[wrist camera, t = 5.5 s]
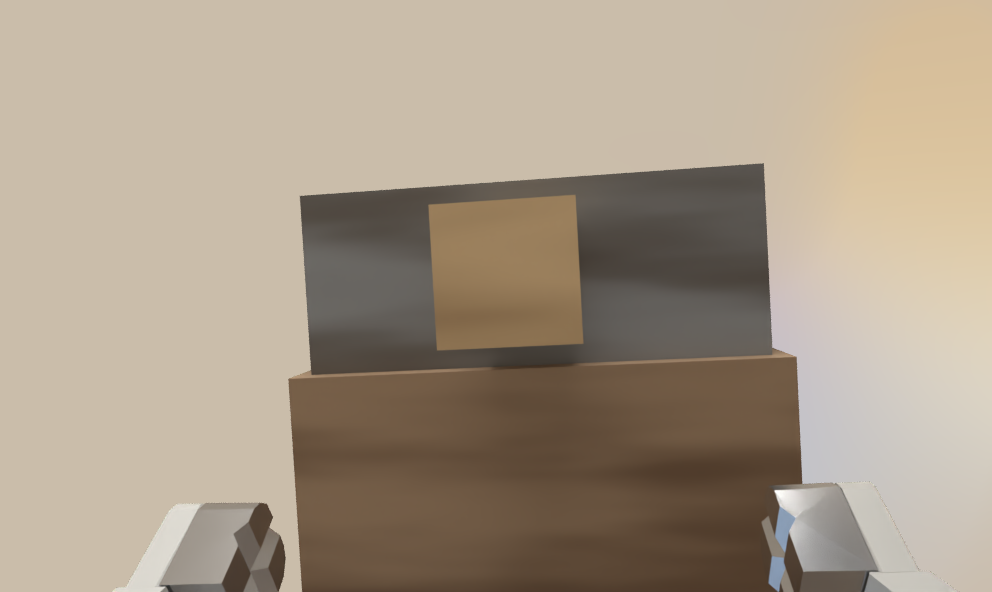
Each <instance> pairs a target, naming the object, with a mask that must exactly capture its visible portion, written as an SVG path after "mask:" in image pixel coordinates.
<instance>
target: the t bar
mask: <svg viewBox="0 0 992 592" xmlns="http://www.w3.org/2000/svg"><path fill="white" fill-rule="evenodd" d="M300 203H301V219H302V234H303V250H304V266H305V281H306V297H307V312H308V327H309V328H308V329H309V344H310V360H311V375H321V374H344V373H367V372H390V371H413V370H436V369H459V368H482V367H505V366H528V365H550V364H573V363H596V362H619V361H642V360H665V359H688V358H711V357H734V356H757V355H773V354H772V335H771V334H772V333H771V311H770V292H769V291H770V290H769V268H768V247H767V225H766V205H765V204H766V203H765V183H764V164H749V165H735V166H722V167H706V168H692V169H678V170H664V171H650V172H635V173H621V174H607V175H593V176H579V177H565V178H551V179H536V180H522V181H508V182H493V183H479V184H465V185H450V186H438V187H423V188H408V189H393V190H379V191H365V192H353V193H352V192H351V193H338V194H322V195H308V196H300Z"/></svg>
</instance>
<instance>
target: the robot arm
mask: <svg viewBox="0 0 992 592" xmlns="http://www.w3.org/2000/svg"><path fill="white" fill-rule="evenodd" d="M764 504H765V507H766V510H767V513H768V517H767V518H766V519H764V520H763V521H762V522H761V532H760V544H761V556H762V561H763V565H764V570H765V573H766V577H767V580H768V583H769V584H770V585H771V586H772V587H773V588H774V589H776V590H777V591H778V592H958V591H957V590H956V589H954V588H953V587H952V586H950V585H949V584H948V583H946V582H945V581H943V580H942V579H941V578H939V577H938V576H936V575H935V574H934V573H932V572H931V571H919V568H918V567H917V565H916V563H915V561H914V559H913V557H912V556H911V553H910V551H909V550H908V548H907V546H906V544H905V542H904V540H903V538H902V536H901V534H900V532H899V531H898V528H897V527H896V525H895V523H894V521H893V519H892V517H891V515H890V513H889V512H888V510H887V508H886V506H885V504H884V502H883V500H882V499H881V496H880V494H879V492H878V490H877V489H876V487H875V486H874V485H873V484H872V483H870V482H848V483H835V484H833V483H816V484H793V485H770V486H768V488H767V490H766V492H765V499H764ZM272 518H273V516H272V514H271V512H270V510H269V508H268V505H267V504H264V503H205V504H177V505H175V506H174V507H173V508H172V509H171V510H169V512H168V513H167V515H166V517H165V518H164V520H163V522H162V524H161V525H160V527H159V529H158V531H157V533H156V534H155V536H154V538H153V540H152V541H151V543H150V545H149V547H148V549H147V550H146V552H145V554H144V556H143V558H142V559H141V561H140V563H139V565H138V566H137V568H136V570H135V572H134V574H133V575H132V577H131V579H130V581H129V582H128V584H127V586H126V587H119V588H116V589H115V590H114V591H112V592H279V589H280V586H281V583H282V580H283V577H284V568H285V551H284V545H283V542H282V540H281V537H280V535H279V534H277V533H276V532H274V531H273V530H272V529H270V528H269V526H270V523H271V521H272Z"/></svg>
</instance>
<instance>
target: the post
mask: <svg viewBox="0 0 992 592" xmlns="http://www.w3.org/2000/svg"><path fill="white" fill-rule="evenodd" d="M772 354H773V355H757V356H734V357H711V358H688V359H665V360H642V361H619V362H596V363H573V364H550V365H528V366H505V367H482V368H459V369H436V370H413V371H390V372H367V373H344V374H321V375H311V370H310V371H308V372H305V373H303V374H300V375H297V376H295V377H292V378H289V394H290V409H291V426H292V439H293V440H292V441H293V455H294V471H295V487H296V502H297V517H298V532H299V533H298V534H299V547H300V548H299V549H300V564H301V580H302V592H778V591H777V590H776V589H774V588H773V587H772V586H771V585H770V584H769V583H768V580H767V577H766V573H765V570H764V565H763V561H762V556H761V544H760V532H761V522H762V521H763V520H764V519H766V518H767V517H768V513H767V510H766V507H765V504H764V499H765V492H766V490H767V488H768V486H770V485H793V484H802V468H801V446H800V425H799V402H798V381H797V358H796V357H795V356H793V355H790V354H787V353H785V352H782V351H779V350H776V349H774V348H772Z"/></svg>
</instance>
